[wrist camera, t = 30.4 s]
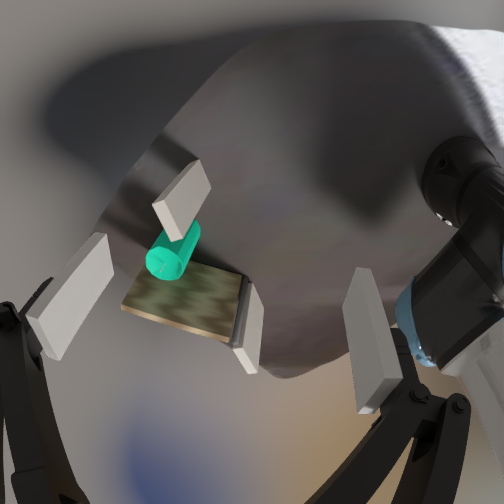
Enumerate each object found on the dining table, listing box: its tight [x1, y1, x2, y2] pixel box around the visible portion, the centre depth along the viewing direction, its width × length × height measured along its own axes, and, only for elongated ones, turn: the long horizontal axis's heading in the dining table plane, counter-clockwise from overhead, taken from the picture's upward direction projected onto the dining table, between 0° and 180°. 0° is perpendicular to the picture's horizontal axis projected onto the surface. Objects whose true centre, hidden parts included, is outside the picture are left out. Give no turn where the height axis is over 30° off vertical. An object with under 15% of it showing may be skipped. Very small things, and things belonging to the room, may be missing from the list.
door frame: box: [152, 160, 264, 374], centre depth 46 cm, size 2×31×15 cm, turn 20°
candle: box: [146, 219, 200, 281], centre depth 47 cm, size 6×6×12 cm
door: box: [121, 260, 242, 343], centre depth 49 cm, size 17×3×15 cm, turn 74°
